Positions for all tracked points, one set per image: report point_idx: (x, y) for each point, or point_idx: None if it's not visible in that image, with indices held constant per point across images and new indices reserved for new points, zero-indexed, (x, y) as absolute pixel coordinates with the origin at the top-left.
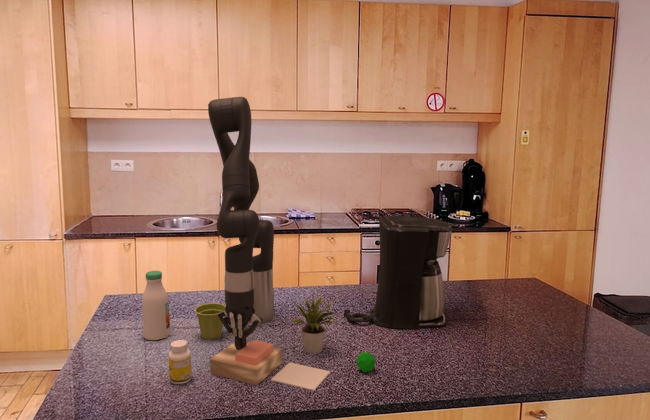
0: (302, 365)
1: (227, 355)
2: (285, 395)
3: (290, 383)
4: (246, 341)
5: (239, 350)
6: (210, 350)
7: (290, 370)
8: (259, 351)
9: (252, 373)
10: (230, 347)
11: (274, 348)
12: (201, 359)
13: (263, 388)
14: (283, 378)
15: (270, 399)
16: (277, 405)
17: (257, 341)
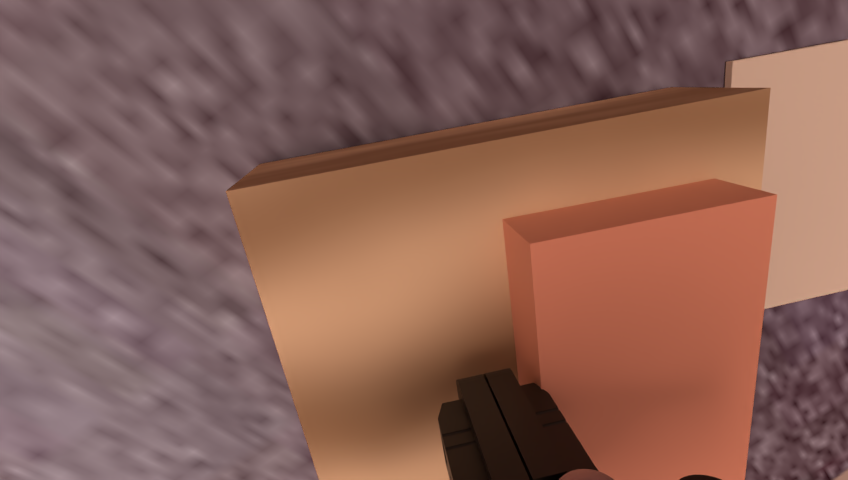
0: (839, 46)
1: (413, 464)
2: (838, 372)
3: (836, 286)
4: (567, 422)
5: (433, 353)
6: (19, 270)
7: (783, 162)
8: (718, 388)
9: None
10: (314, 362)
11: (696, 124)
12: (123, 402)
13: None
14: (779, 269)
15: (784, 435)
16: (831, 447)
17: (585, 249)
